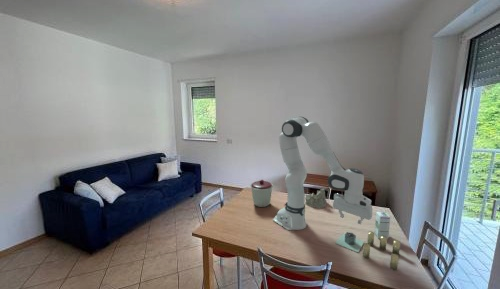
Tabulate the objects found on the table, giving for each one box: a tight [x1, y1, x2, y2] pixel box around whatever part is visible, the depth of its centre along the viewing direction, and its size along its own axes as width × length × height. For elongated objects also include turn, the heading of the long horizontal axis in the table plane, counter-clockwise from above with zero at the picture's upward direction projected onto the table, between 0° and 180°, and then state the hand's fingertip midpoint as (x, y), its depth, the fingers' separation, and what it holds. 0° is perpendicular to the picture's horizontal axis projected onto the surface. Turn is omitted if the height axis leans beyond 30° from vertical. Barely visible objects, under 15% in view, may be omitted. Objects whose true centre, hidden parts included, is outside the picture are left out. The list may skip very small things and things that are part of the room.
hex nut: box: [344, 232, 357, 245], centre depth 120 cm, size 6×5×5 cm
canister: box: [250, 179, 274, 208], centre depth 169 cm, size 18×18×21 cm
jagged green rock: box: [304, 188, 328, 209], centre depth 170 cm, size 16×16×15 cm
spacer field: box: [362, 230, 401, 272], centre depth 110 cm, size 16×16×7 cm
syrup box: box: [374, 211, 391, 240], centre depth 125 cm, size 6×6×14 cm
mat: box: [335, 233, 365, 254], centre depth 121 cm, size 12×12×1 cm
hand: (350, 220), depth 119 cm, fingers open, 8 cm apart
